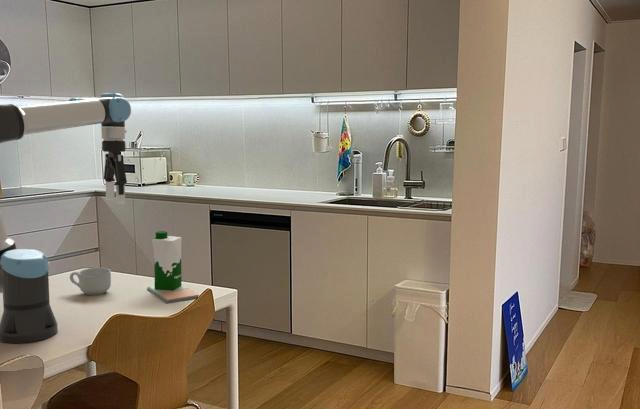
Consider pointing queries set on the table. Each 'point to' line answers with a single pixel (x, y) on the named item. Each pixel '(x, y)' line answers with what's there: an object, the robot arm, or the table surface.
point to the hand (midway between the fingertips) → (115, 202)
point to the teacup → (93, 280)
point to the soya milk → (167, 261)
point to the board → (174, 294)
